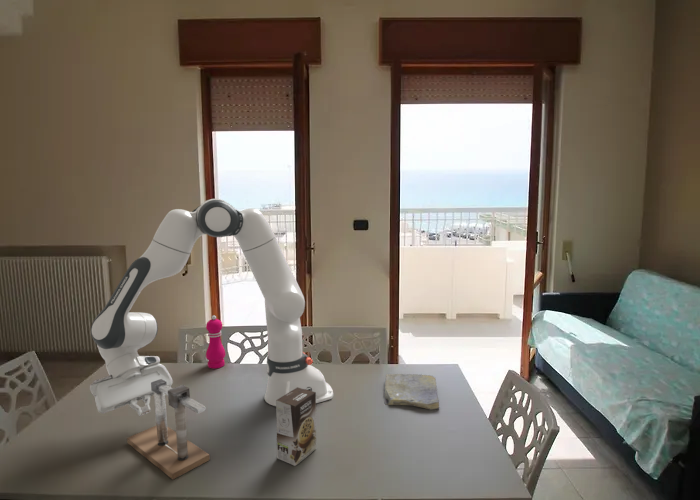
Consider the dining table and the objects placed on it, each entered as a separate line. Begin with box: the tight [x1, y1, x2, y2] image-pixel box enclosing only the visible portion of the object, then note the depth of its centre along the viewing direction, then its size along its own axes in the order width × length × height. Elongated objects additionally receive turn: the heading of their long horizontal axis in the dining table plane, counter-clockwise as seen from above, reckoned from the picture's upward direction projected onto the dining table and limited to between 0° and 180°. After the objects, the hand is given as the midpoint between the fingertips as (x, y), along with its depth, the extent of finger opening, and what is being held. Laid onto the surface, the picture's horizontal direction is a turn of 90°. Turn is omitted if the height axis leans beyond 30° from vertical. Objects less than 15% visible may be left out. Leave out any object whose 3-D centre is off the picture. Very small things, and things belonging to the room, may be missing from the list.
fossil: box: [383, 373, 440, 411], centre depth 150 cm, size 20×5×17 cm
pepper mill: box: [205, 315, 226, 370], centre depth 173 cm, size 7×7×20 cm
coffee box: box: [275, 387, 317, 467], centre depth 117 cm, size 9×6×16 cm
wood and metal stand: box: [126, 384, 211, 480], centre depth 118 cm, size 24×10×20 cm, turn 50°
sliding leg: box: [151, 379, 207, 443], centre depth 113 cm, size 21×3×17 cm, turn 50°
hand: (145, 413), depth 125 cm, fingers closed
